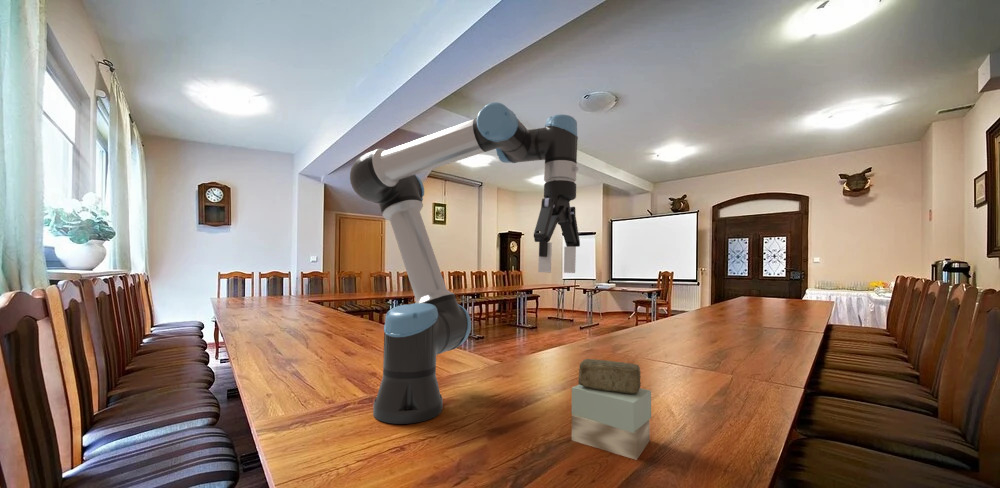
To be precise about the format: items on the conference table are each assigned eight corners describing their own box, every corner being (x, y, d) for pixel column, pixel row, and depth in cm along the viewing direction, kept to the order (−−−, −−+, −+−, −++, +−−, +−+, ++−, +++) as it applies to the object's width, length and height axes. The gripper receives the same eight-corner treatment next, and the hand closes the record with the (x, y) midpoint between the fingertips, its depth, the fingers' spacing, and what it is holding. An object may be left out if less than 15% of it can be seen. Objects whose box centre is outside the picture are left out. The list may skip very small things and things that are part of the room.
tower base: (571, 442, 70) (571, 415, 70) (589, 426, 77) (589, 402, 78) (636, 462, 63) (636, 432, 63) (649, 443, 70) (649, 416, 71)
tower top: (571, 414, 71) (571, 387, 71) (592, 402, 78) (592, 377, 78) (633, 432, 63) (633, 402, 64) (651, 417, 70) (650, 390, 70)
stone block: (640, 397, 67) (640, 369, 67) (576, 388, 71) (576, 362, 71) (641, 388, 72) (640, 362, 72) (582, 380, 76) (581, 356, 77)
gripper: (551, 167, 75) (548, 272, 73) (593, 191, 95) (592, 273, 94) (519, 172, 79) (516, 271, 77) (566, 193, 100) (564, 272, 98)
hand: (557, 272), depth 86 cm, fingers open, 13 cm apart
